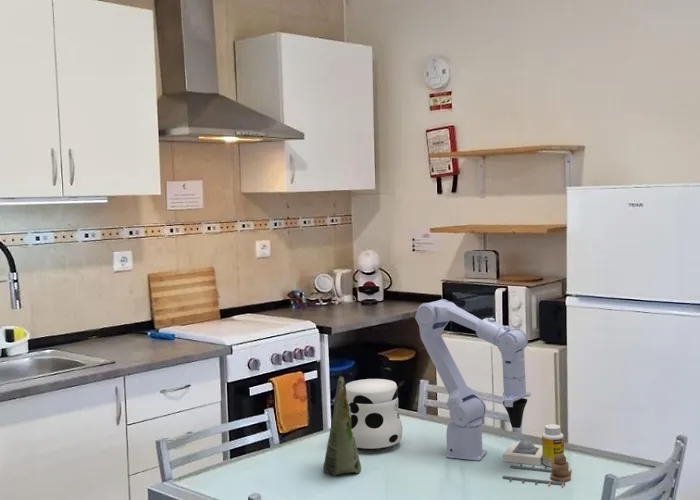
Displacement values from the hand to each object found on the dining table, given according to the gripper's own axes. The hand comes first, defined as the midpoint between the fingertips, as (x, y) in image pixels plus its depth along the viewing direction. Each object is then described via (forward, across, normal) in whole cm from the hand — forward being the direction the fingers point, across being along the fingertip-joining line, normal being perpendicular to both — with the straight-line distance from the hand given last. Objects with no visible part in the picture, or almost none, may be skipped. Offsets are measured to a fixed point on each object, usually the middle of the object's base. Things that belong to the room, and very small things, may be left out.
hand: (516, 427), depth 213 cm
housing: (+10, +7, 0) cm, 13 cm away
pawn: (+11, -6, -12) cm, 17 cm away
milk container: (+10, +4, +44) cm, 45 cm away
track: (+10, -6, -6) cm, 14 cm away
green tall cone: (+10, -18, +42) cm, 47 cm away
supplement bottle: (+11, +4, -8) cm, 14 cm away
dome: (+10, +7, -1) cm, 12 cm away
